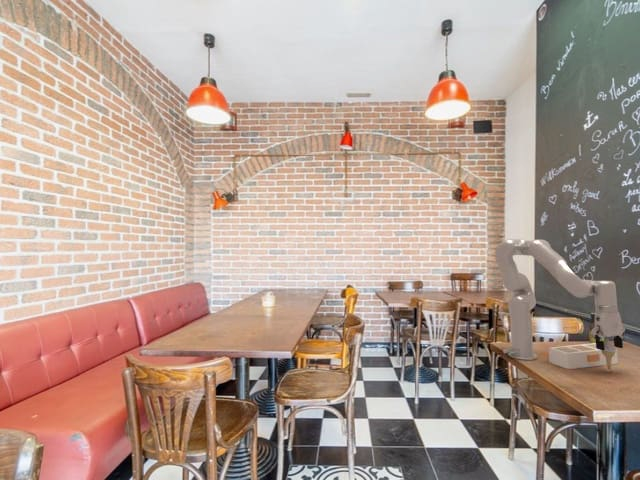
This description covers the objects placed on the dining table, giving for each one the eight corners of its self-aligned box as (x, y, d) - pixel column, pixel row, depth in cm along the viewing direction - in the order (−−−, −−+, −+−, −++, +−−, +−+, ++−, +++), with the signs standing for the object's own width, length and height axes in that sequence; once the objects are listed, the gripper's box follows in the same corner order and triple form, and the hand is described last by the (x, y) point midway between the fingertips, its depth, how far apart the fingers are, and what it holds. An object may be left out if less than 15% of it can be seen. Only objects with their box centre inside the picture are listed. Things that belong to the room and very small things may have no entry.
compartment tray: (569, 369, 155) (568, 354, 155) (549, 362, 165) (548, 347, 166) (619, 364, 160) (618, 348, 161) (596, 357, 171) (595, 343, 171)
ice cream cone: (619, 375, 146) (617, 340, 147) (602, 373, 149) (600, 338, 150) (616, 371, 151) (614, 337, 152) (600, 369, 154) (598, 335, 155)
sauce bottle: (608, 353, 176) (606, 314, 176) (594, 353, 177) (592, 314, 178) (601, 350, 182) (599, 312, 183) (587, 349, 183) (585, 312, 184)
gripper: (598, 311, 146) (601, 352, 145) (631, 308, 149) (634, 348, 148) (581, 309, 153) (585, 348, 152) (613, 306, 156) (616, 344, 156)
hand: (609, 348), depth 150 cm, fingers open, 9 cm apart
